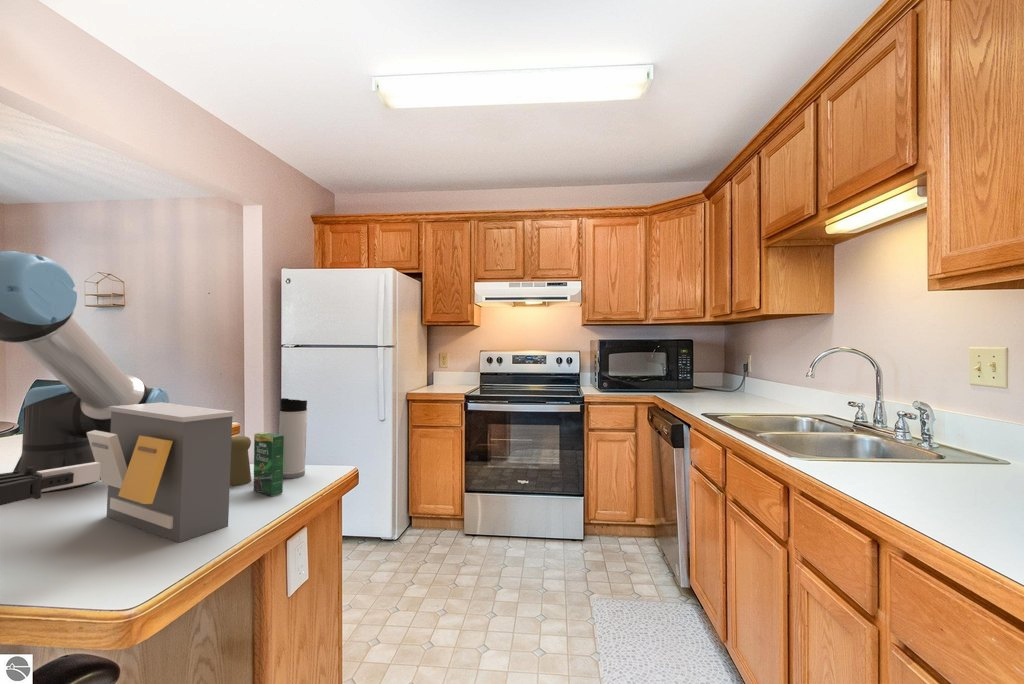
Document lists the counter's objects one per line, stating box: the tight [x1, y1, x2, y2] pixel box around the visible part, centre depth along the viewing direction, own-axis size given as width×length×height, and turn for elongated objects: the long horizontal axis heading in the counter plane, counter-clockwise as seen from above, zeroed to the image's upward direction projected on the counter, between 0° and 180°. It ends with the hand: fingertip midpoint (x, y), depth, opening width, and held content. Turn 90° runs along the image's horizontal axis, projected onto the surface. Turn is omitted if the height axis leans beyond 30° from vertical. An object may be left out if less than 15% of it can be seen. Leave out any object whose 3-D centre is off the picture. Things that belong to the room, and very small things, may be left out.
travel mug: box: [278, 397, 308, 480], centre depth 112 cm, size 6×7×20 cm
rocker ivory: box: [87, 430, 127, 489], centre depth 78 cm, size 2×8×10 cm, turn 64°
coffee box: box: [253, 431, 284, 497], centre depth 99 cm, size 8×3×13 cm, turn 57°
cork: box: [230, 435, 252, 487], centre depth 105 cm, size 6×6×11 cm
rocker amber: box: [118, 435, 173, 504], centre depth 73 cm, size 1×8×10 cm, turn 64°
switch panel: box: [106, 402, 236, 543], centre depth 81 cm, size 9×25×21 cm, turn 64°
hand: (97, 471), depth 67 cm, fingers closed
